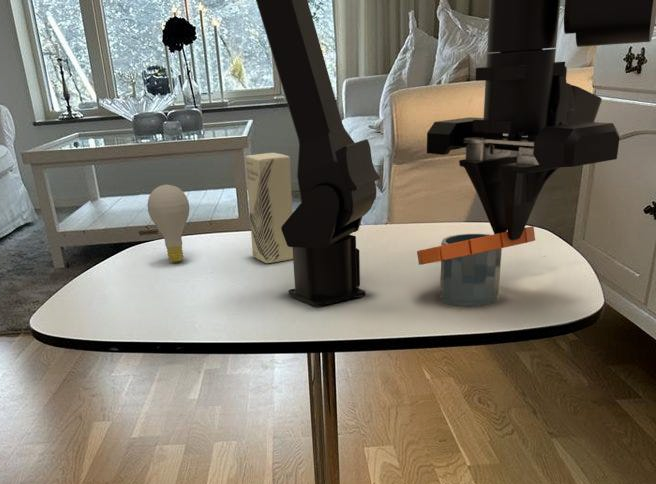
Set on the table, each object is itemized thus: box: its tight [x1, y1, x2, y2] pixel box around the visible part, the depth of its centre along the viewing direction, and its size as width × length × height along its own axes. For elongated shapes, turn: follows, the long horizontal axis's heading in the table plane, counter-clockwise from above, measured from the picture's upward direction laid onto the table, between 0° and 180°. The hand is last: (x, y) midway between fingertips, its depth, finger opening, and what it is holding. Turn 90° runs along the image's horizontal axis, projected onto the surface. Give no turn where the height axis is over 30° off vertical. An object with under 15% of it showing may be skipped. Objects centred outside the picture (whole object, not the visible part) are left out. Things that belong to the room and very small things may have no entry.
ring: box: [416, 225, 536, 266], centre depth 76 cm, size 11×11×1 cm
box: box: [244, 152, 293, 264], centre depth 97 cm, size 5×4×13 cm
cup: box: [439, 233, 503, 307], centre depth 78 cm, size 6×6×6 cm
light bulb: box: [146, 184, 190, 264], centre depth 100 cm, size 6×5×10 cm
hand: (507, 238), depth 72 cm, fingers closed on ring, 1 cm apart
